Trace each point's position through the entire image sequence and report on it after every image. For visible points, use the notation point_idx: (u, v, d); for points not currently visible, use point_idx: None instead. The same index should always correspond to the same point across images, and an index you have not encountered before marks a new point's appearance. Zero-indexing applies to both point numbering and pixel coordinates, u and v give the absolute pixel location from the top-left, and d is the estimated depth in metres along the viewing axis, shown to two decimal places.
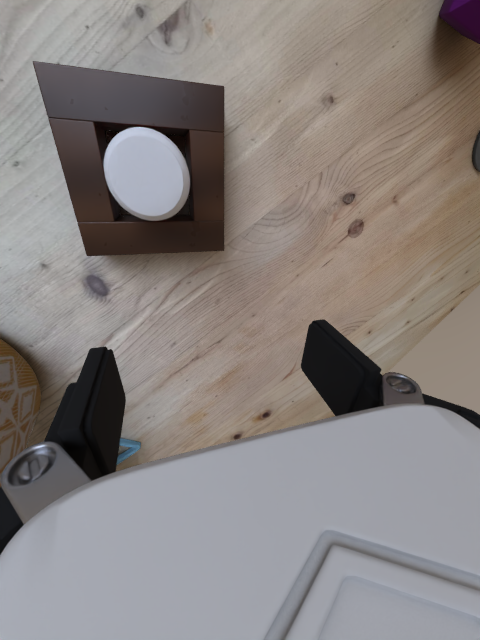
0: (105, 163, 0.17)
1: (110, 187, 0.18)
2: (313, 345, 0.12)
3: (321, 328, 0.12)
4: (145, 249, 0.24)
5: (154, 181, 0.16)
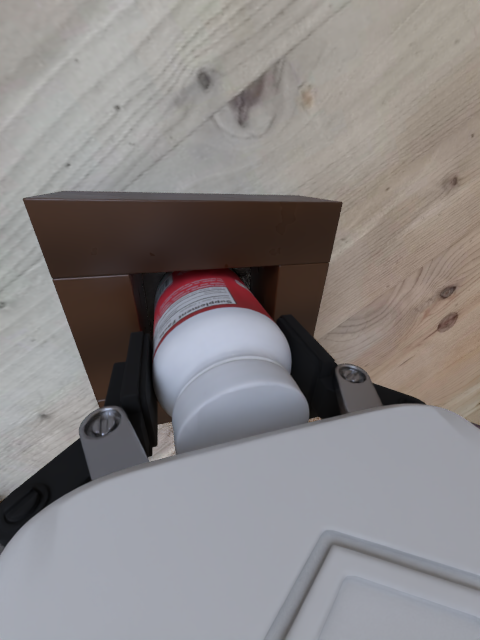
0: (157, 378, 0.09)
1: (163, 407, 0.10)
2: None
3: (287, 322, 0.12)
4: None
5: None
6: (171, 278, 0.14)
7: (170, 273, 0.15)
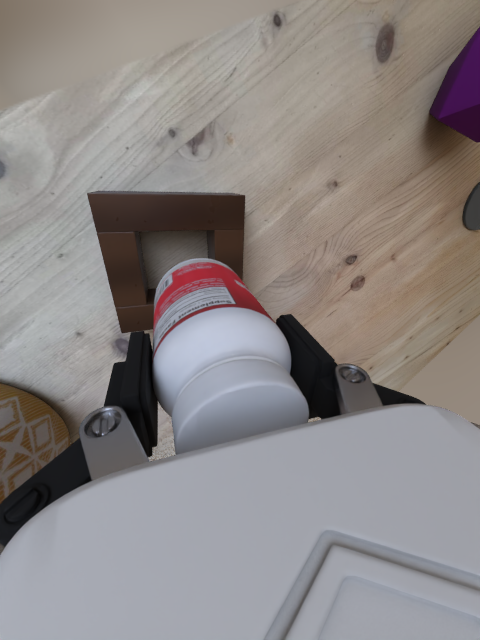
0: (157, 378, 0.09)
1: (163, 407, 0.10)
2: None
3: (286, 322, 0.12)
4: None
5: None
6: (170, 279, 0.14)
7: (170, 273, 0.15)
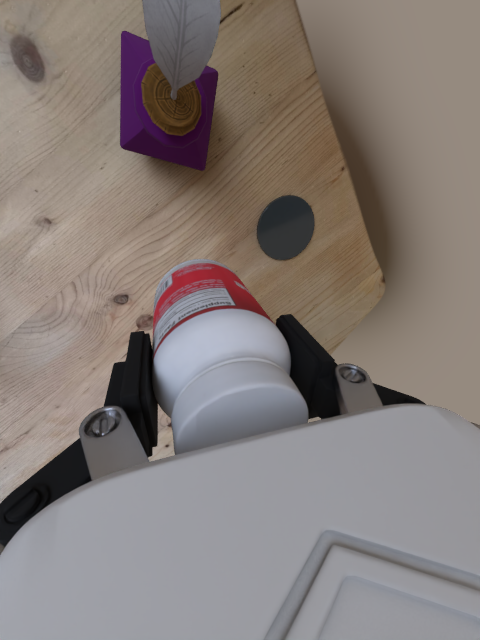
0: (157, 380, 0.09)
1: (163, 408, 0.10)
2: None
3: (286, 322, 0.12)
4: None
5: None
6: (170, 280, 0.14)
7: (170, 274, 0.15)
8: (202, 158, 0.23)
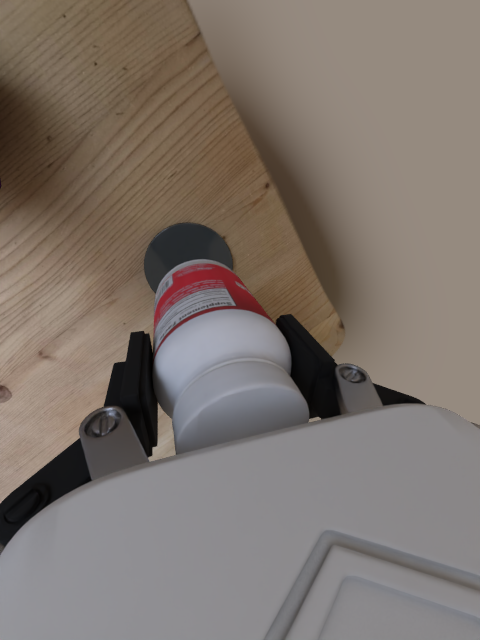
0: (158, 380, 0.09)
1: (164, 409, 0.10)
2: None
3: (287, 322, 0.12)
4: None
5: None
6: (171, 280, 0.14)
7: (170, 274, 0.15)
8: None
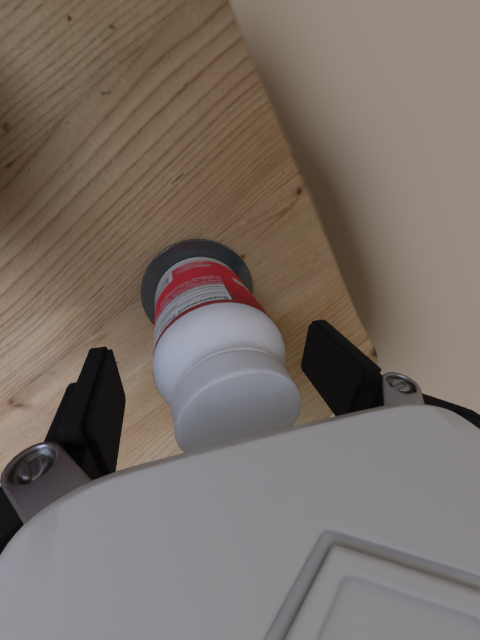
0: (158, 369, 0.10)
1: (164, 397, 0.11)
2: (313, 345, 0.12)
3: (321, 328, 0.12)
4: None
5: (252, 423, 0.09)
6: (170, 277, 0.14)
7: (170, 271, 0.15)
8: None
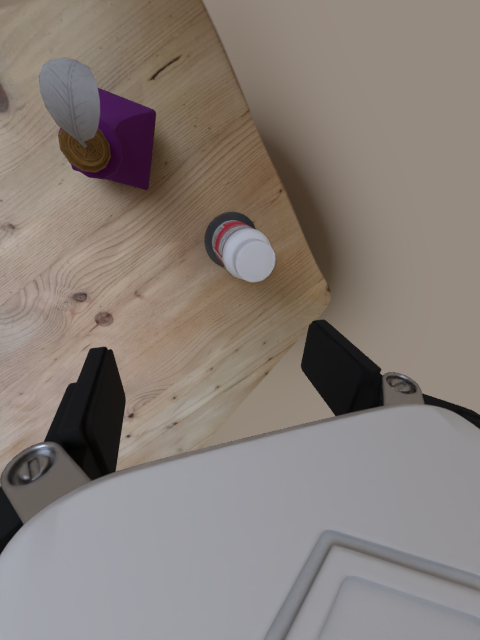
0: (226, 250, 0.28)
1: (226, 262, 0.29)
2: (313, 345, 0.12)
3: (321, 327, 0.12)
4: None
5: (259, 264, 0.27)
6: (223, 226, 0.33)
7: (221, 225, 0.34)
8: (144, 180, 0.27)
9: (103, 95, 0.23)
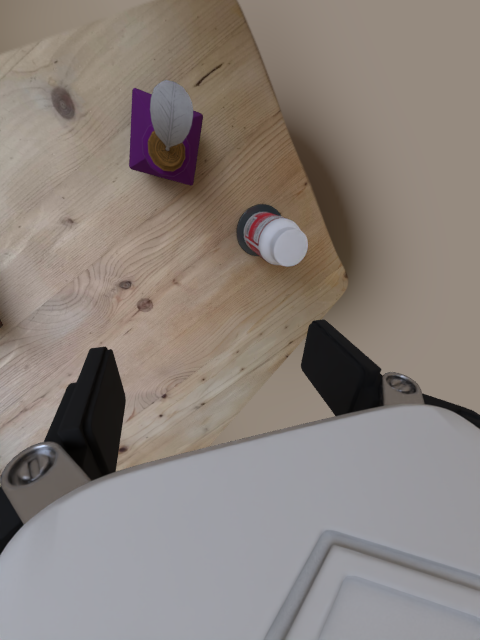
0: (263, 238, 0.32)
1: (263, 249, 0.32)
2: (313, 345, 0.12)
3: (321, 328, 0.12)
4: None
5: (294, 249, 0.31)
6: (255, 217, 0.36)
7: (253, 216, 0.37)
8: (191, 177, 0.30)
9: None
